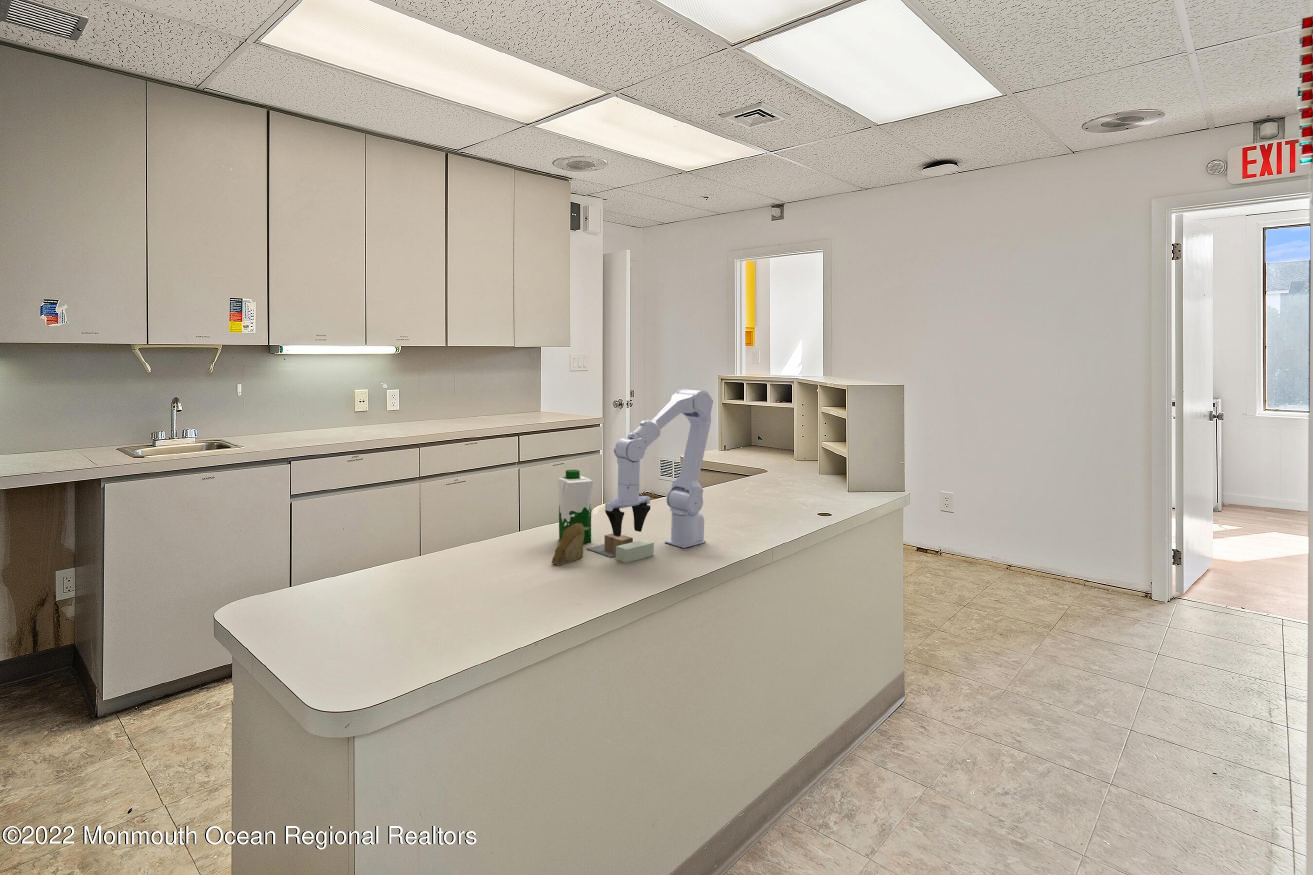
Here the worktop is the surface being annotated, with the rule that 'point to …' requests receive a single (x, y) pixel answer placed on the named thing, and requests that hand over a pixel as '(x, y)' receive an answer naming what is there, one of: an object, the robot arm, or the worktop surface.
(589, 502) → the milk carton
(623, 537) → the walnut block
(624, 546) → the pale green rectangular block
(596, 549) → the mat
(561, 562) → the rock
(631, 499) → the robot arm
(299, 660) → the worktop surface
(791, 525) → the worktop surface
